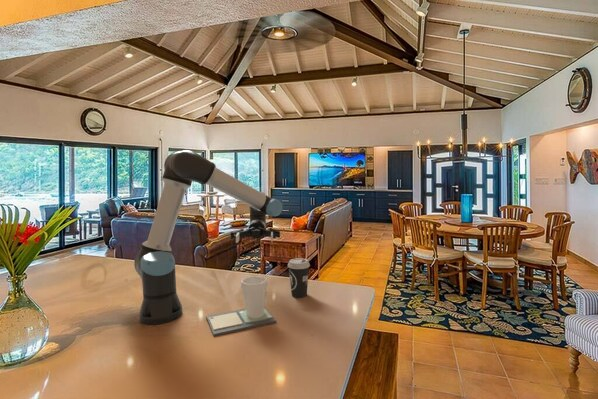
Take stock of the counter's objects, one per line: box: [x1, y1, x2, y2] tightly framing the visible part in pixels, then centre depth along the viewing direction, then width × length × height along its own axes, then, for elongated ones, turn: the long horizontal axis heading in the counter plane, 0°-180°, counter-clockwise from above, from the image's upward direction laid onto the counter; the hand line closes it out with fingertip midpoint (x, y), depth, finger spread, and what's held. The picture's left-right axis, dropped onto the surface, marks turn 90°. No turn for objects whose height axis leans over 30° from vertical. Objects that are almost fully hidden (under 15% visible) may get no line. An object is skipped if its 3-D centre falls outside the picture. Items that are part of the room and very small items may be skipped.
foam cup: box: [240, 275, 268, 318], centre depth 127 cm, size 10×9×13 cm
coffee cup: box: [287, 257, 311, 299], centre depth 147 cm, size 10×10×15 cm
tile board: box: [205, 307, 277, 337], centre depth 125 cm, size 22×15×1 cm
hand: (254, 238), depth 134 cm, fingers open, 13 cm apart
